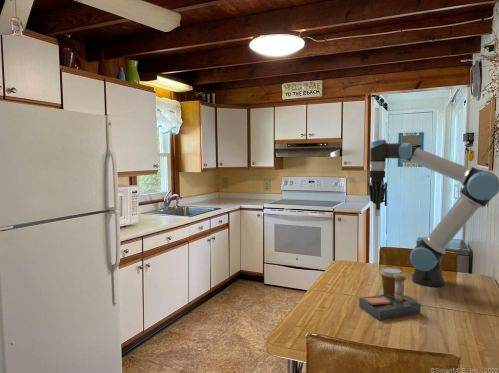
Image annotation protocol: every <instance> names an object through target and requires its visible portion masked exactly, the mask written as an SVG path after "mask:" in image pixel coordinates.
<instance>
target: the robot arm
mask: <svg viewBox="0 0 499 373" xmlns="http://www.w3.org/2000/svg"><path fill="white" fill-rule="evenodd" d="M369 147H370V148H369V150H370V151H369V178H371V179H370V181H369V182H368V183H367V186H368V187H367V188H368V193H369V200H370V202H372V216H373V217H380V210H381V204H383V203H384V200H385V196H386V191H387V190H386V189H387V188H388V184H386V183H384V182H385V181H384V179H385V178H386V169H387V168H386V167H387V166H386V165H387V164H386V163H387V162H386V160H387V159H403V160H406V161H408V162H412V163H414V164H416V165H419V166H421V167H422V168H426V169H428V170H430V171H433V172H435V173H438V174H439V175H442V176H445V177H447V178H450V179H452V180H455V181H457V182H459V183H461V186H463V187H462V188H461V190H460V191H459V195H460V196H459V198H458V199H457V200H456V202H454V204H453V205H452V207H451V208H450V209H449V210H448V211H447V213H446V214H445V215H444V216H443V217H442V219H441V220H440V222H439V223H438V224H437V225H436V227H435V228H434V229H433V230H432V232H430V234H429V235H428V236H418V237H417V238H416V241H415V242H416V246H415V247H414V248H413V249H412V250H411V251H410V254H409V260H410V263H411V265H412V267H414V270H413V273H412V275H411V281H412V282H414V283H415V284H418V285H421V286H426V287H441V286H444V285H445V278H444V275H443V272H442V268H441V267H442V258H443V256H444V255H445V254H446V247H447V246H448V245H449V244H450V242H451V241H452V240H453V239H454V238H455V236H457V234H458V233H459V232H460V231H461V230H462V229H463V227H464V226H465V225H466V224H467V222H468V221H469V220H470V219H471V218H472V217H473V215H474V214H475V212H477V211H478V210H479V209H480V208H484V207H486V206H487V205H488V204H489V202H491V200H492V199H494V197H495V196H497V194H498V193H499V178H498V176H497V175H496V174H495V173H493V172H491V171H488V170H487V171H486V170H484V169H483V170H482V169H480V168H476V167H473V166H470V167H467V166H464V165H462V164H460V163H457V162H455V161H452V160H449V159H446V158H444V157H441V156H439V155H436V154H434V153H431V152H429V151H425V150H424V149H422V148H418V147H416V146H413V145H412V144H411V143H410V142H400V143H397V142H396V143H395V142H394V143H391V142H390V143H387V140H386V139H371V141H370V146H369Z"/></svg>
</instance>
